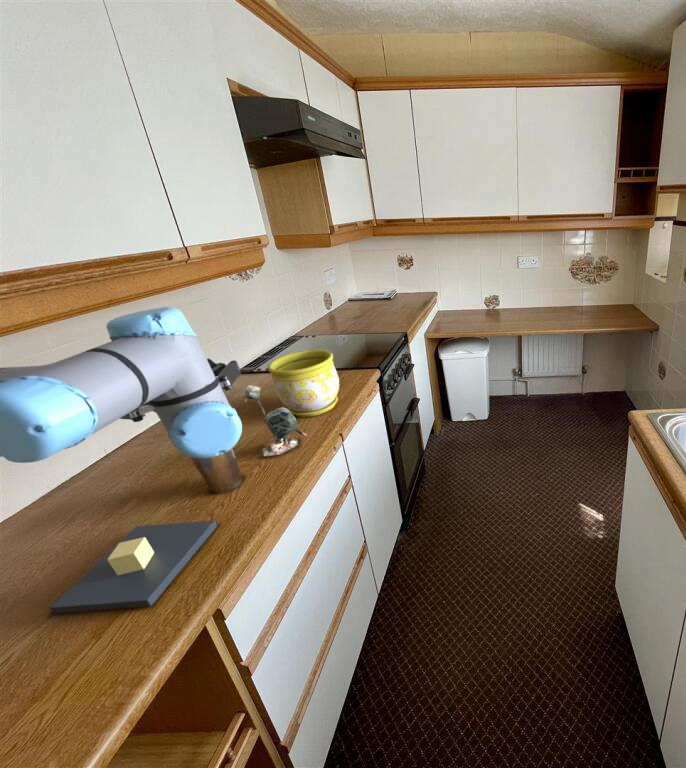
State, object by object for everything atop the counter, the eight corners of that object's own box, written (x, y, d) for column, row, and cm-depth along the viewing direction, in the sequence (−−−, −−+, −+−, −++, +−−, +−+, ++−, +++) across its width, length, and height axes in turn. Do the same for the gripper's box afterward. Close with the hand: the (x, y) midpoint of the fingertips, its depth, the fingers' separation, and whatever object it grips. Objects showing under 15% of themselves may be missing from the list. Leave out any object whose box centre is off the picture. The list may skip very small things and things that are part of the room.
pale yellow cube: (117, 575, 72) (106, 559, 70) (129, 558, 75) (119, 542, 73) (144, 569, 73) (133, 553, 71) (154, 552, 76) (145, 536, 74)
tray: (53, 613, 67) (49, 607, 67) (139, 531, 84) (136, 526, 83) (151, 606, 68) (147, 600, 67) (217, 525, 84) (214, 520, 83)
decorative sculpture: (302, 453, 106) (279, 384, 97) (256, 459, 105) (228, 390, 96) (311, 437, 113) (290, 371, 105) (268, 442, 112) (243, 376, 103)
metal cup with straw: (201, 510, 88) (138, 386, 75) (195, 486, 96) (137, 370, 83) (256, 486, 95) (207, 369, 82) (246, 466, 102) (200, 355, 89)
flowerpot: (287, 428, 118) (269, 377, 111) (281, 405, 132) (265, 358, 125) (350, 409, 127) (337, 361, 120) (338, 389, 141) (326, 345, 134)
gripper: (94, 465, 56) (91, 423, 70) (282, 395, 72) (248, 372, 86) (63, 419, 53) (66, 384, 67) (266, 355, 69) (233, 338, 83)
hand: (168, 377), depth 77 cm, fingers open, 13 cm apart
